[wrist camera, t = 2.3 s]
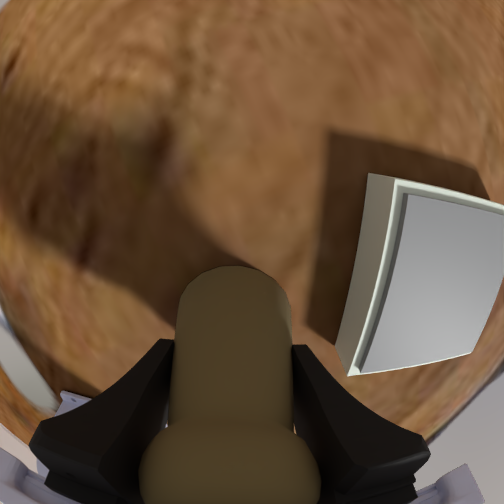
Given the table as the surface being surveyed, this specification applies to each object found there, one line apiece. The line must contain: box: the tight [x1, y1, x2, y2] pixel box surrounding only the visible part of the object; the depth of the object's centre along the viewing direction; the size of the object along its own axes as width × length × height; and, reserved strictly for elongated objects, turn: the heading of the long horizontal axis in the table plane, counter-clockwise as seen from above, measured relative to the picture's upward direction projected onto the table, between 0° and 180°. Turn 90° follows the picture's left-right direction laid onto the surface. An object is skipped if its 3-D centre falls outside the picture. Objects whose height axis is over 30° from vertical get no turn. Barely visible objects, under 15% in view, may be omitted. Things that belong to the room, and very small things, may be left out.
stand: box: [335, 173, 504, 376], centre depth 13 cm, size 10×10×3 cm
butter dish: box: [0, 423, 38, 504], centre depth 18 cm, size 18×18×16 cm
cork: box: [138, 266, 322, 504], centre depth 9 cm, size 6×6×11 cm
